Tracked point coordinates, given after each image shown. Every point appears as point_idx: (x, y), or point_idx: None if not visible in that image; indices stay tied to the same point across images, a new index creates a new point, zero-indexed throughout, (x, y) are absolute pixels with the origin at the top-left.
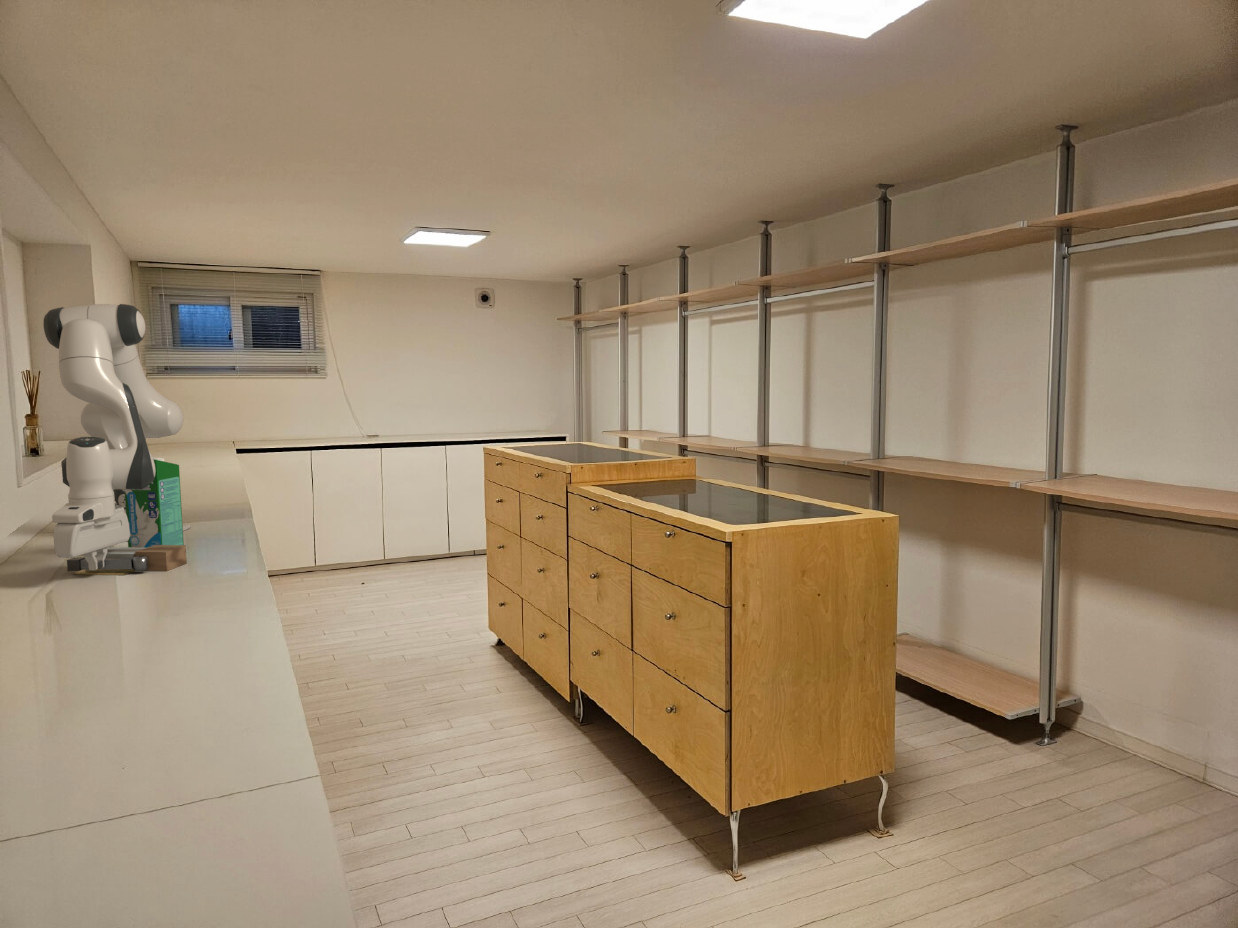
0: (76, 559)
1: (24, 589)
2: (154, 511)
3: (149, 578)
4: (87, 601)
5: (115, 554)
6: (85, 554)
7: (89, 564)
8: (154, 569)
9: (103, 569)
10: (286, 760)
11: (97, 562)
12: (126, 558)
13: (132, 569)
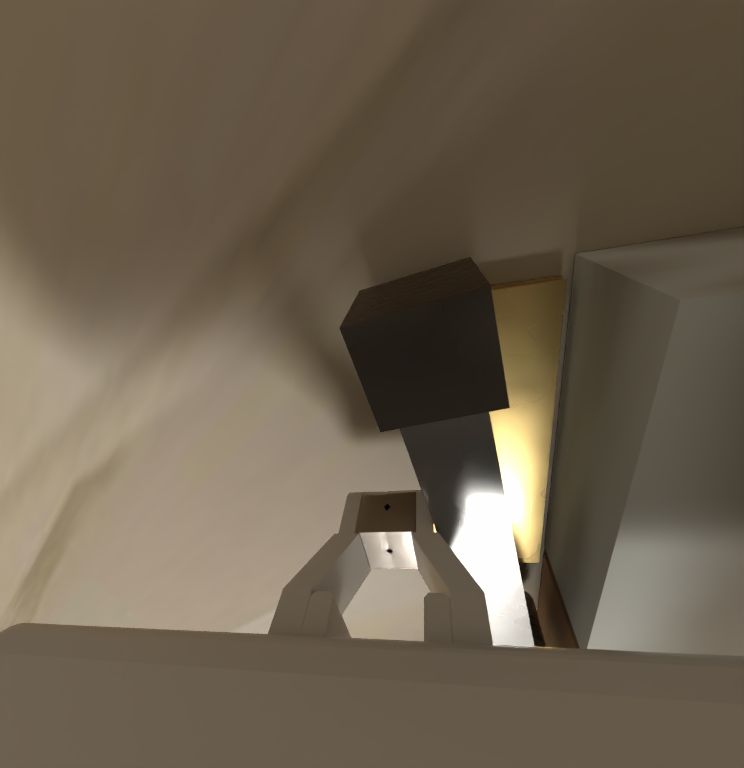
0: (391, 401)
1: (21, 324)
2: None
3: (408, 633)
4: (131, 616)
5: (600, 577)
6: (282, 615)
7: (344, 524)
8: (540, 615)
9: (531, 426)
10: None
11: (368, 565)
12: (508, 633)
13: (534, 554)
